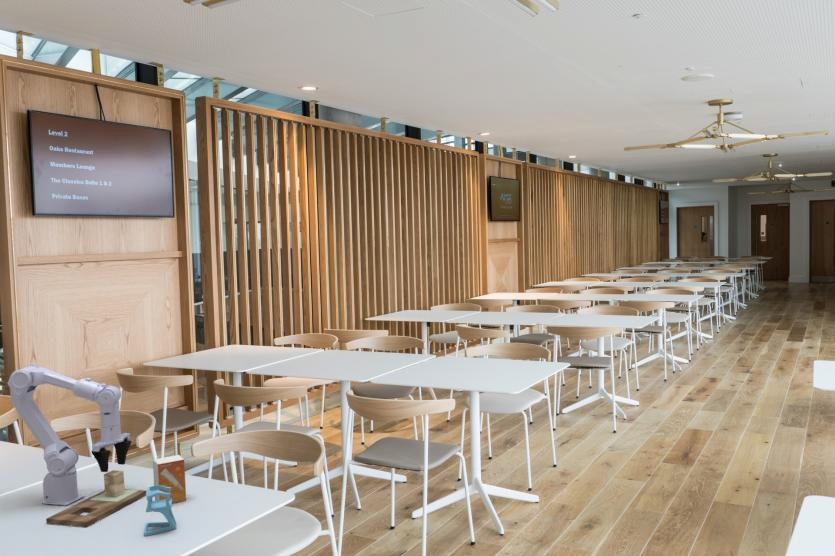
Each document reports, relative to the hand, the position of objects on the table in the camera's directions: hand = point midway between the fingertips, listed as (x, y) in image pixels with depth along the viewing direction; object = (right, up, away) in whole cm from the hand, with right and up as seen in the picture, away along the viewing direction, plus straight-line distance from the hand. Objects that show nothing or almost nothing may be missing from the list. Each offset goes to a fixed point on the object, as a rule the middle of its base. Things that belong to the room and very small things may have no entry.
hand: (113, 467), depth 226 cm
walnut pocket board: (0, -10, -9) cm, 14 cm away
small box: (+20, -9, -5) cm, 22 cm away
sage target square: (+2, -8, -3) cm, 9 cm away
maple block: (+2, -8, -3) cm, 8 cm away
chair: (+25, -10, -27) cm, 38 cm away
